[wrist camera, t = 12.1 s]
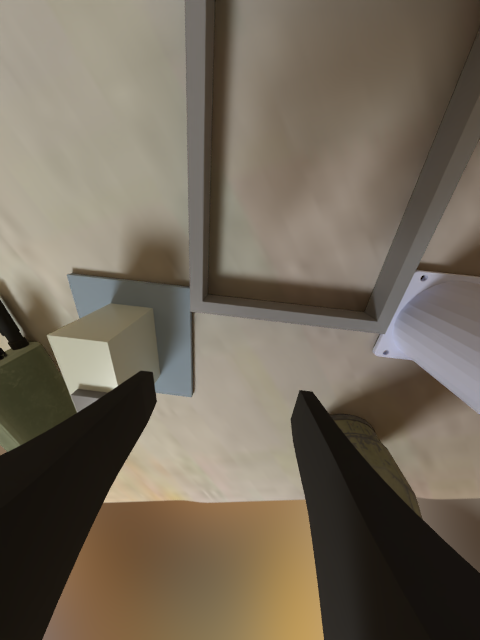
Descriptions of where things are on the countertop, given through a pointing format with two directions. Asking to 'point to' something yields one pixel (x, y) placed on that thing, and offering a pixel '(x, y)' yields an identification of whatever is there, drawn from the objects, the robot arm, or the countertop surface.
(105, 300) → the rubber mat
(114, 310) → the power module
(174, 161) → the countertop surface
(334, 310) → the gray rectangular frame
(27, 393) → the handheld radio
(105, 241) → the countertop surface
